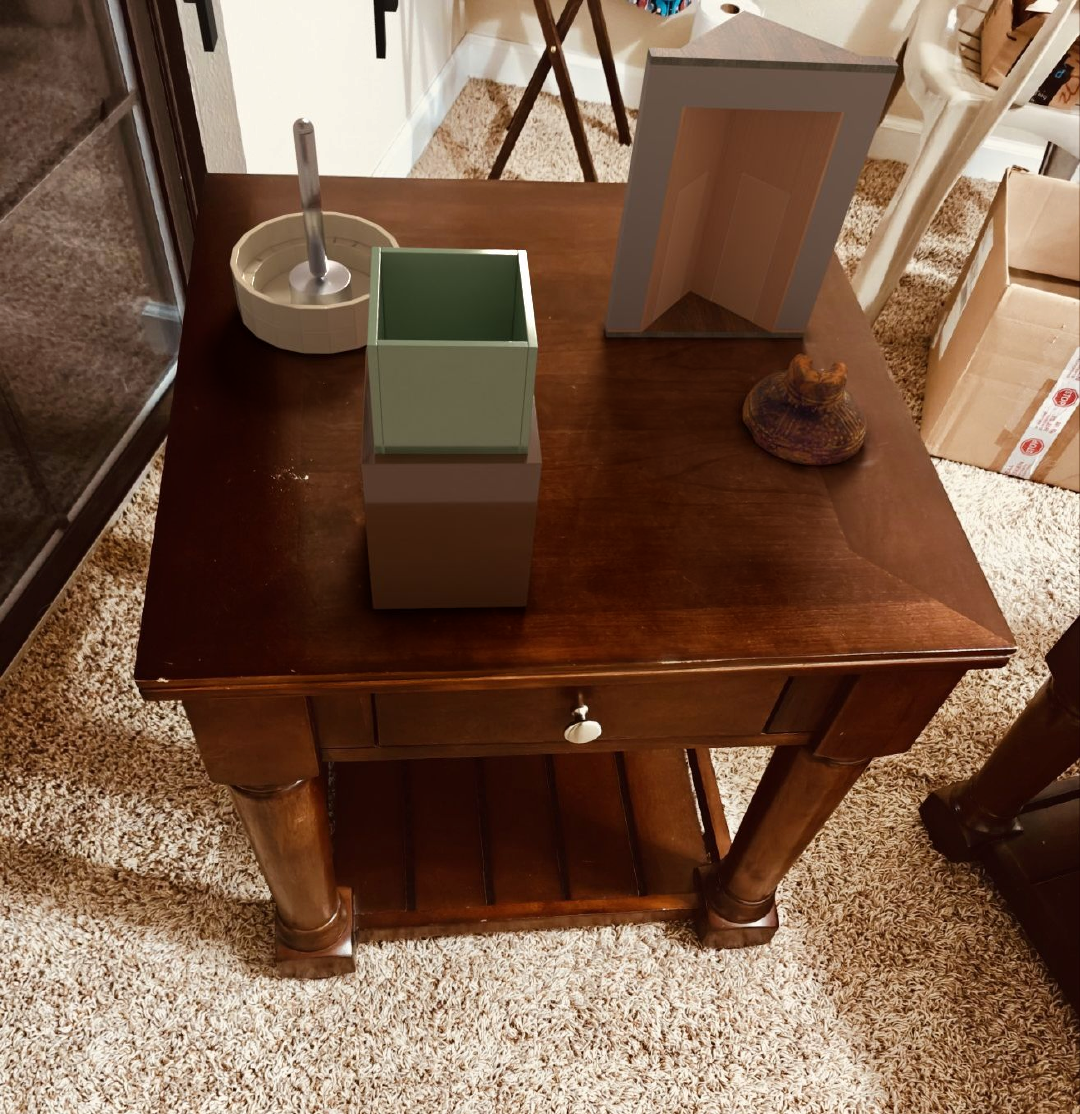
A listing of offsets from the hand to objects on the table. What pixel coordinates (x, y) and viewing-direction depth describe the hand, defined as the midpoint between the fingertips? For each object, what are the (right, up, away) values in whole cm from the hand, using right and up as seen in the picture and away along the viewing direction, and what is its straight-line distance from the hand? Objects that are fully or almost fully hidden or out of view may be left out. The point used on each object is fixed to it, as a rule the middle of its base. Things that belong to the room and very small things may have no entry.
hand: (297, 48), depth 81 cm
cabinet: (+37, -15, +25) cm, 47 cm away
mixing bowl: (-2, -16, +20) cm, 26 cm away
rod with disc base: (-2, -16, +19) cm, 25 cm away
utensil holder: (+12, -41, +1) cm, 43 cm away
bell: (+45, -29, +14) cm, 55 cm away
